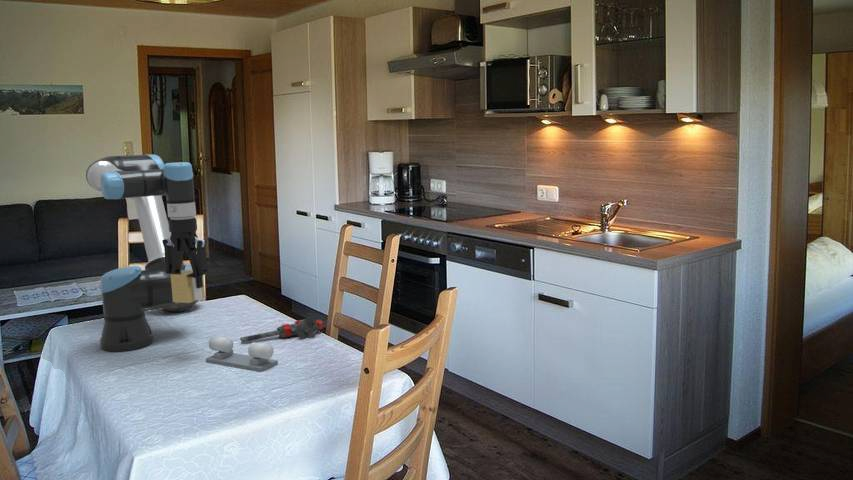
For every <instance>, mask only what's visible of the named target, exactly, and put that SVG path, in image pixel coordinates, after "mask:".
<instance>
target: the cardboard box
mask: <svg viewBox="0 0 853 480" xmlns="http://www.w3.org/2000/svg"><path fill="white" fill-rule="evenodd" d="M193 276H194V274H193V270H188V269H187V270H183V271H180V272H176V273H173V274H171V285H172V297H173V302H181V303H190V302H193V301H196V300H194V297H193V285H192V277H193ZM202 280H203V287H202V288H201V290H202V298H201V299H205V298H206V296H205V284H204V275H203V276H202ZM201 299H198V301H199V300H201Z"/></svg>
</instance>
